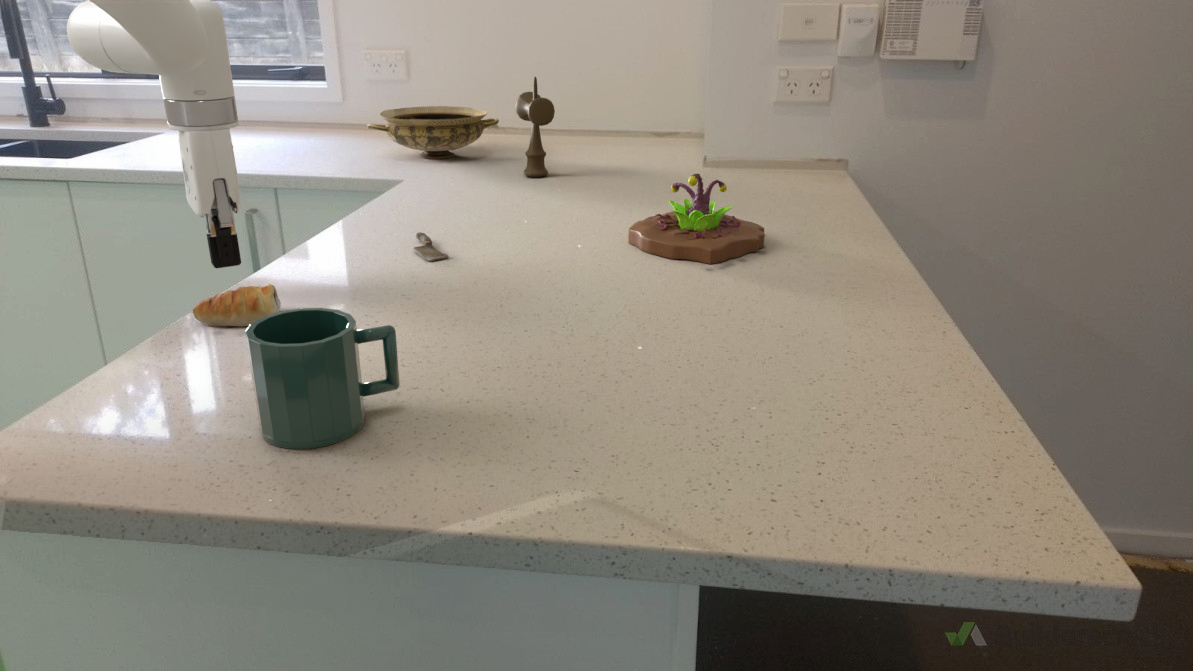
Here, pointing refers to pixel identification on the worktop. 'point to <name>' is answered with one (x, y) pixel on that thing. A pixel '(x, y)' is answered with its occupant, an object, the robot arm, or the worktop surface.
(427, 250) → the meat cleaver
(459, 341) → the worktop surface
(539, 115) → the kendama
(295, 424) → the mug
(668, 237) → the plant
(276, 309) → the pastry
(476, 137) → the ceramic bowl
